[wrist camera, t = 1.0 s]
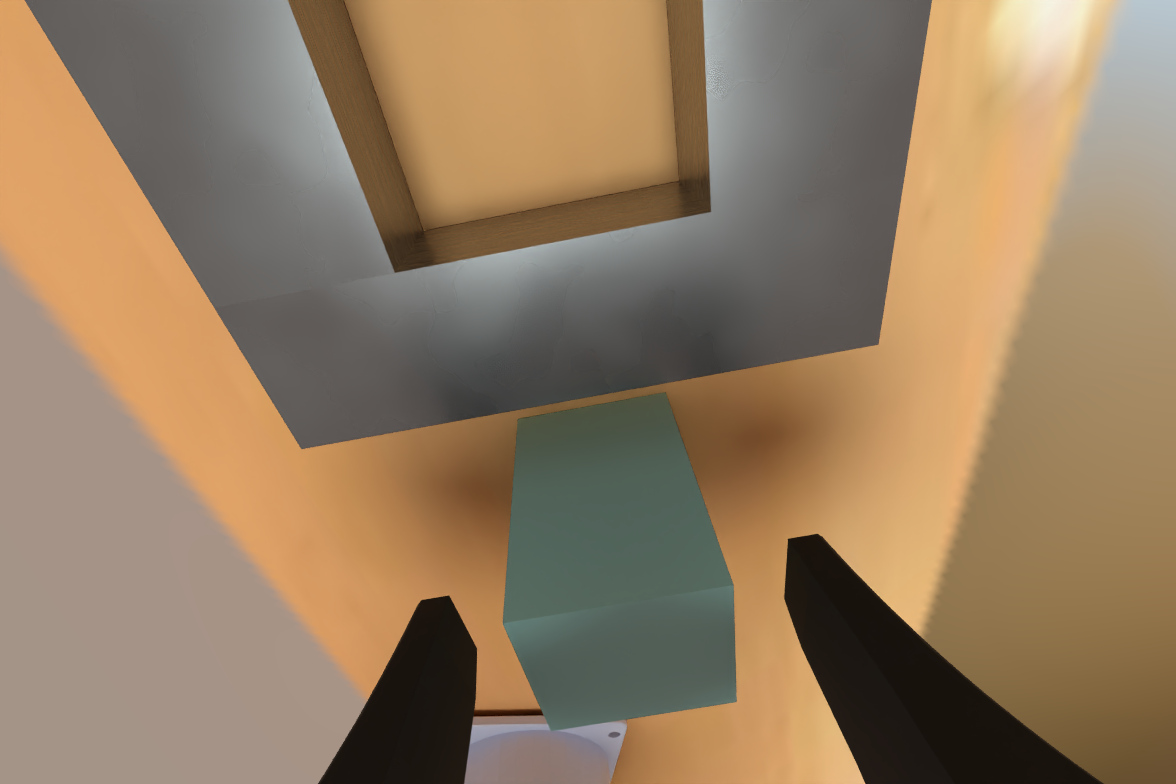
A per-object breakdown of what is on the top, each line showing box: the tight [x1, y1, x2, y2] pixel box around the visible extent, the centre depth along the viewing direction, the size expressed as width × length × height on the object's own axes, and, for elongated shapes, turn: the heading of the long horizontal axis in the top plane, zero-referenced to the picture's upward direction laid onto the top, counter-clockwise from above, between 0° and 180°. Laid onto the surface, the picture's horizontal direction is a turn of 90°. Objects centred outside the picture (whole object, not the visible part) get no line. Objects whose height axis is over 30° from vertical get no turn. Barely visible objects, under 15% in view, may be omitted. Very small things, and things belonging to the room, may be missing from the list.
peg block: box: [503, 392, 737, 731], centre depth 13 cm, size 4×4×6 cm
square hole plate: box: [25, 0, 932, 449], centre depth 8 cm, size 12×12×2 cm
